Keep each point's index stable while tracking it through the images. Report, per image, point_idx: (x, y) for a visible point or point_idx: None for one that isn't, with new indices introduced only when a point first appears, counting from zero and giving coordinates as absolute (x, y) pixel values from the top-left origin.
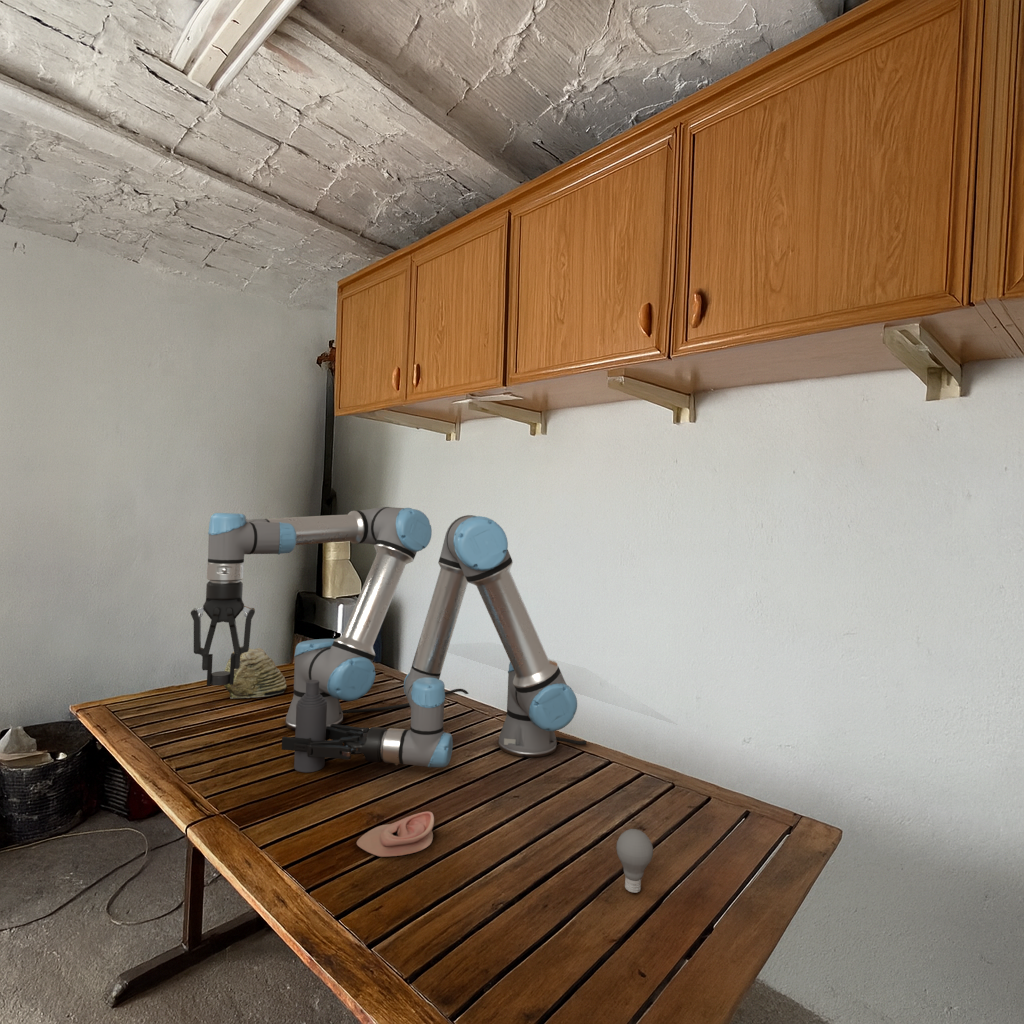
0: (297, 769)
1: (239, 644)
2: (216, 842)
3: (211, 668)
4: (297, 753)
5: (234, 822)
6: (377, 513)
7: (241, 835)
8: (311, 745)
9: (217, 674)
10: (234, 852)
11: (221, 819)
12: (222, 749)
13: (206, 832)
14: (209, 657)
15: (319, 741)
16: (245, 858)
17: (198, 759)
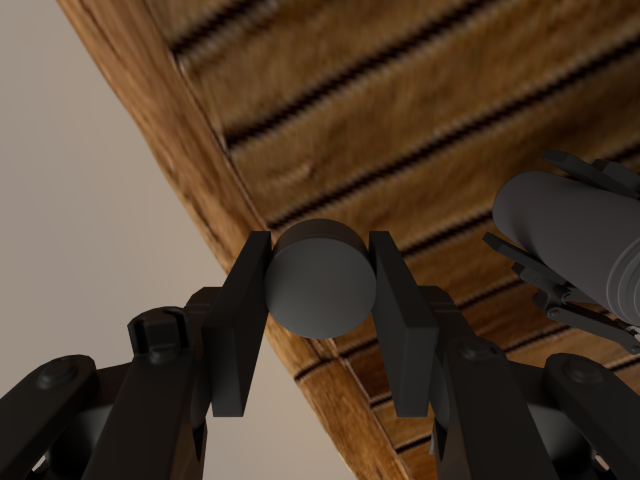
0: (497, 227)
1: (525, 410)
2: (339, 427)
3: (258, 317)
4: (515, 238)
5: (362, 387)
6: None
7: (372, 420)
8: (556, 316)
9: (302, 307)
10: (363, 452)
11: (342, 374)
12: (325, 21)
13: (323, 402)
14: (227, 414)
15: (585, 294)
16: (376, 466)
17: (268, 87)
